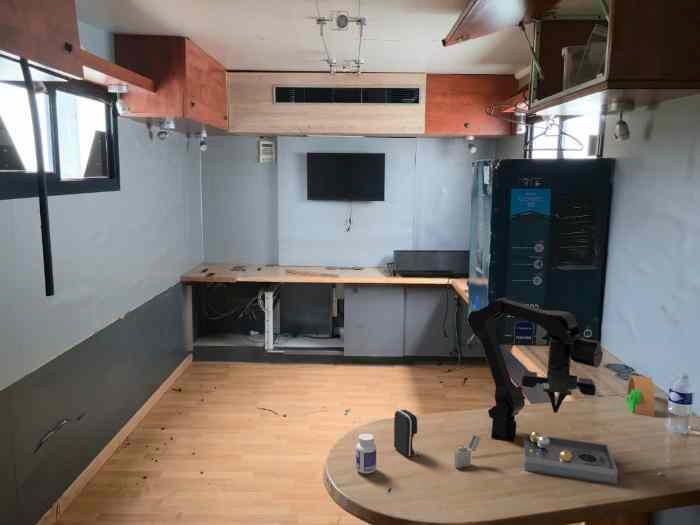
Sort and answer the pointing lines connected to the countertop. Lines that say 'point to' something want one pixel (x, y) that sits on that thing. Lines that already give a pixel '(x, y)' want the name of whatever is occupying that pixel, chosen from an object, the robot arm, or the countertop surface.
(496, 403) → the robot arm
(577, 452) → the tray
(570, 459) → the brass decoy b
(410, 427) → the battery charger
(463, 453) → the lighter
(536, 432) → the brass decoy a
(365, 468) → the pill bottle
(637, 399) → the mechanical part
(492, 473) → the countertop surface
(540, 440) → the steel ball
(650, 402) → the arch
